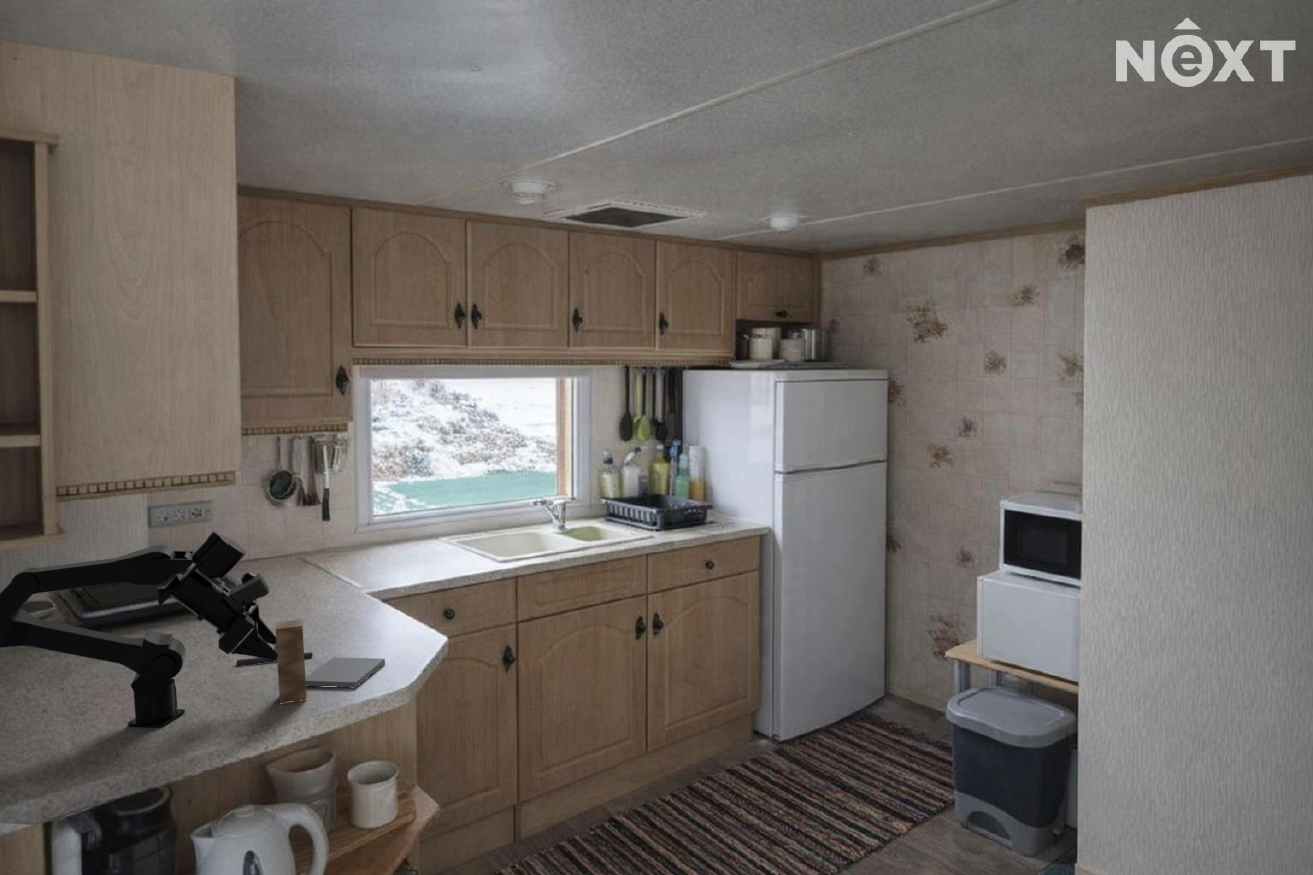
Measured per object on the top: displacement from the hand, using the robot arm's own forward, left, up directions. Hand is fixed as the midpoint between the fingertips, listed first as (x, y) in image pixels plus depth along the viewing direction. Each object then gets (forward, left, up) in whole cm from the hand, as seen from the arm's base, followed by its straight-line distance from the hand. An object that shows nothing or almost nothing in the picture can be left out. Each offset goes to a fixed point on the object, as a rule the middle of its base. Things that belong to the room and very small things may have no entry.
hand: (276, 649), depth 159 cm
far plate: (+13, -6, -9) cm, 17 cm away
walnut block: (+1, -2, -9) cm, 10 cm away
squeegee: (+26, +15, -10) cm, 32 cm away
